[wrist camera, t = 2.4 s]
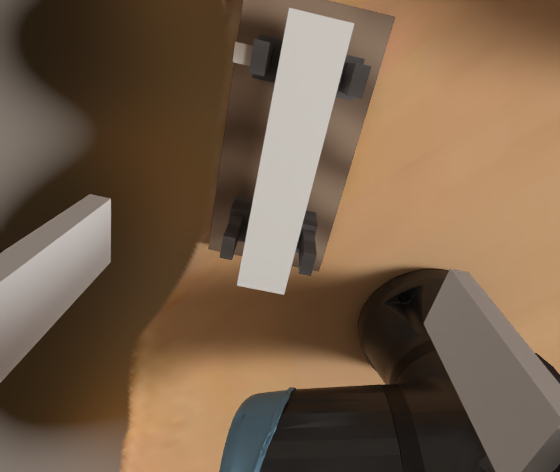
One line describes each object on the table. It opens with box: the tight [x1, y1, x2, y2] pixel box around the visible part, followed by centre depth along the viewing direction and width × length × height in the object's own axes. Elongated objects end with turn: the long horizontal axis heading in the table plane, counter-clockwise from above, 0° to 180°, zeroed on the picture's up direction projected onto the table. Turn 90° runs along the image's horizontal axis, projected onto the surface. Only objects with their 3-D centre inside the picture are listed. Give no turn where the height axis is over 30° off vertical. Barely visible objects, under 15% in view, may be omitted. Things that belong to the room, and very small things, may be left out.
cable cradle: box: [208, 0, 395, 276], centre depth 31 cm, size 24×12×10 cm, turn 168°
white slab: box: [237, 8, 355, 295], centre depth 28 cm, size 20×4×5 cm, turn 168°
